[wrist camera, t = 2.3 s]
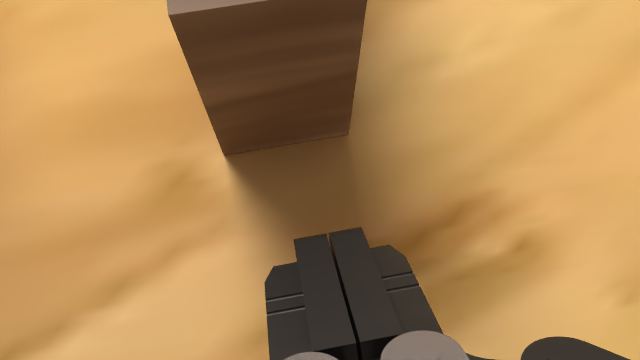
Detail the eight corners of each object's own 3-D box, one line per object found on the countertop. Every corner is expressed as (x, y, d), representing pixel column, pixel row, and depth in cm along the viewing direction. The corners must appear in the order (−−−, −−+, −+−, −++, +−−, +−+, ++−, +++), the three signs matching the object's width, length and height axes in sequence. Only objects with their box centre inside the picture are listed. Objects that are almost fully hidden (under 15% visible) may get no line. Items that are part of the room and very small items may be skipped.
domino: (348, 134, 23) (368, -15, 14) (223, 155, 22) (168, 14, 14) (339, 95, 23) (354, -71, 15) (218, 114, 23) (161, -44, 14)
